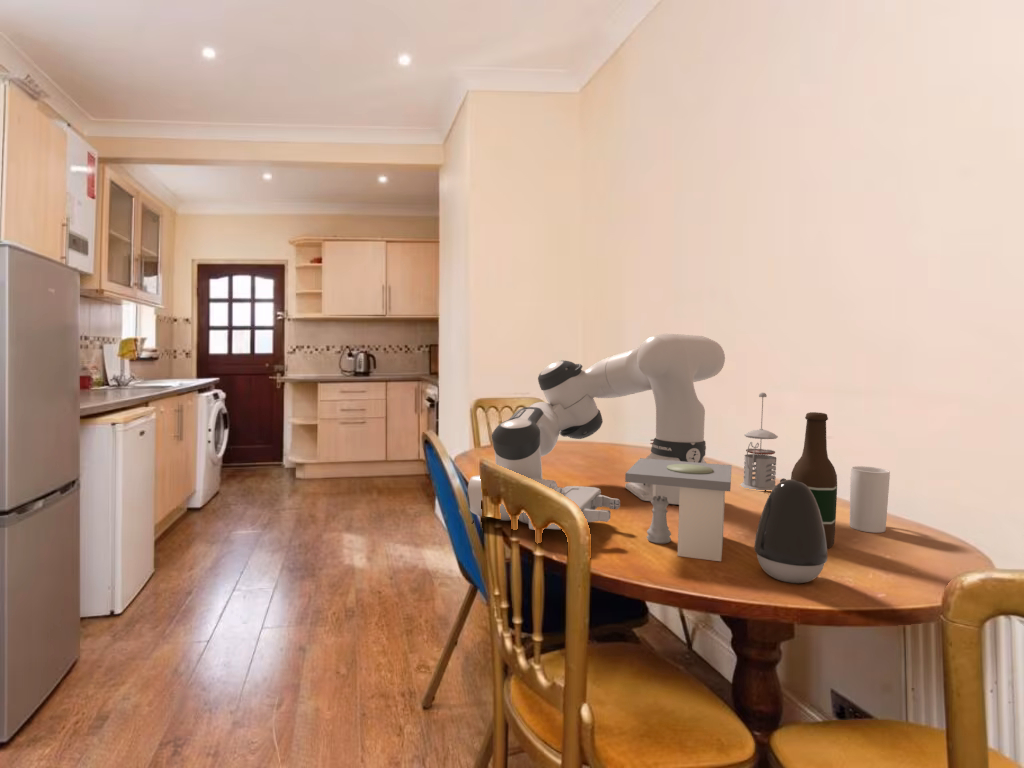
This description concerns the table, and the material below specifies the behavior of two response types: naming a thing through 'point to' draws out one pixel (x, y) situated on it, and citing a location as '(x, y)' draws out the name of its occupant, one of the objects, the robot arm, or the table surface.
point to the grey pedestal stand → (691, 501)
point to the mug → (869, 498)
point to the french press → (759, 461)
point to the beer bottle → (818, 472)
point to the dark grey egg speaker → (791, 534)
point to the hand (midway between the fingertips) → (614, 510)
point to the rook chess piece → (659, 522)
